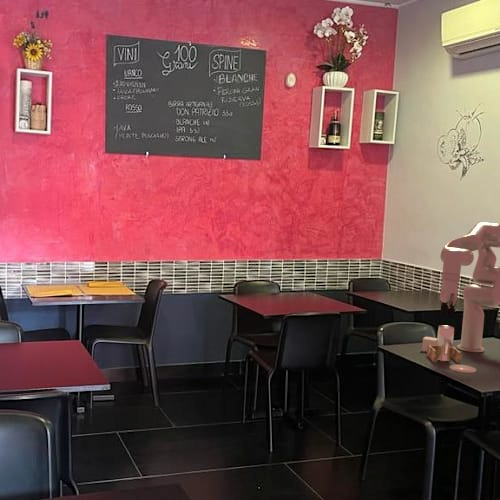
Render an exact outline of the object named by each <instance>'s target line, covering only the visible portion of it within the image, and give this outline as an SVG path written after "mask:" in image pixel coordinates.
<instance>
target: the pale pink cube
mask: <svg viewBox="0 0 500 500" xmlns="http://www.w3.org/2000/svg"><path fill="white" fill-rule="evenodd" d="M421 344H422V347H421V351H422V352H425V351H426V352H425V353H427V352H428V345H436V346H438V341H437V337H432V336H424V337H423V338H422V343H421Z"/></svg>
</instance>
